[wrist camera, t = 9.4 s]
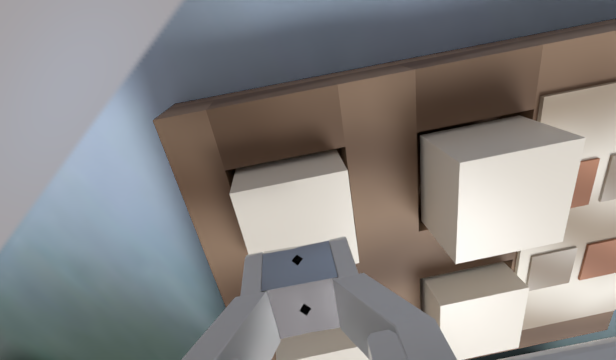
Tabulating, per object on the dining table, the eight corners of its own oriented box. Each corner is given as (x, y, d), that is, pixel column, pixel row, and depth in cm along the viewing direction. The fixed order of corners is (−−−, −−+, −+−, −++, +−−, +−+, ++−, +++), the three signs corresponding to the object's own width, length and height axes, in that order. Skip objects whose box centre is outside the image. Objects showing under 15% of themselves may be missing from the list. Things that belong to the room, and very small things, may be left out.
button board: (174, 103, 14) (149, 122, 11) (637, 14, 15) (729, 10, 12) (264, 358, 22) (263, 409, 19) (567, 294, 23) (612, 334, 20)
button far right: (413, 262, 18) (440, 306, 15) (488, 246, 18) (529, 287, 15) (415, 316, 20) (439, 364, 17) (483, 302, 20) (518, 347, 17)
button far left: (275, 307, 17) (276, 364, 14) (356, 290, 17) (374, 343, 14) (291, 360, 19) (294, 420, 16) (364, 345, 19) (380, 401, 16)
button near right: (420, 134, 14) (459, 163, 11) (519, 115, 14) (585, 137, 11) (421, 220, 15) (455, 264, 13) (508, 202, 16) (562, 241, 13)
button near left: (237, 161, 14) (229, 193, 12) (332, 142, 15) (347, 170, 12) (260, 239, 16) (257, 283, 13) (343, 222, 16) (359, 262, 14)
